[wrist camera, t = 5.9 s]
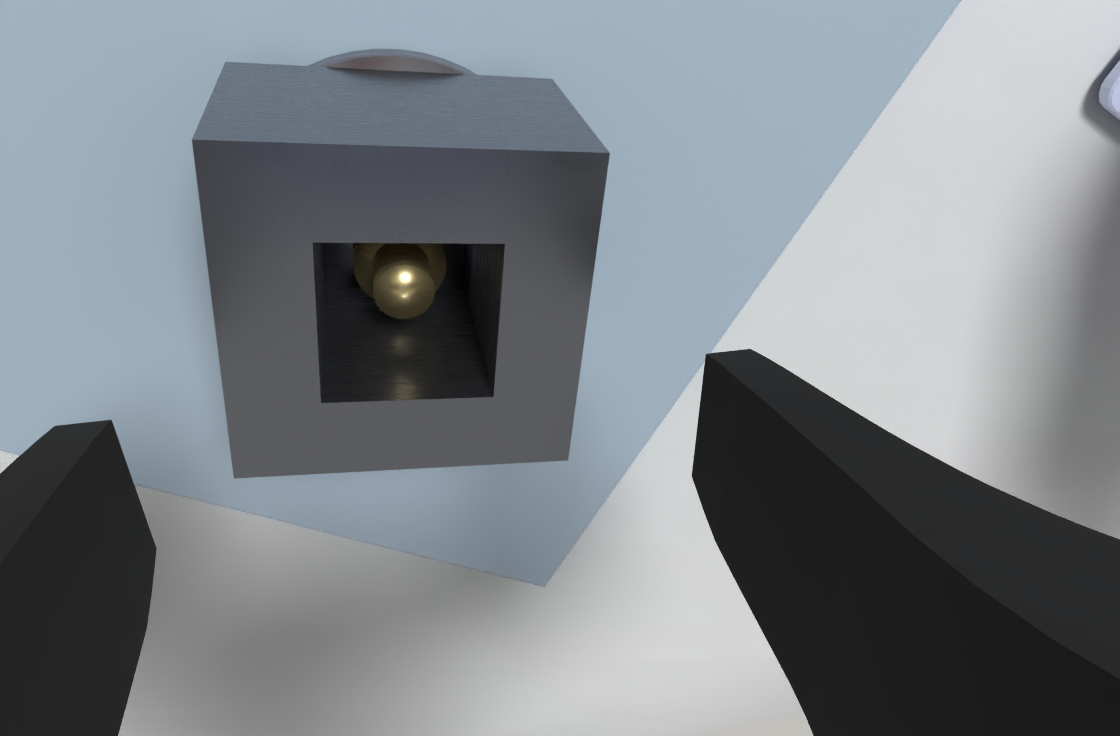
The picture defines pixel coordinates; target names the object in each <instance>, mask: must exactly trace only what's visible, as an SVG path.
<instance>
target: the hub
mask: <svg viewBox="0 0 1120 736" xmlns="http://www.w3.org/2000/svg"><path fill="white" fill-rule="evenodd" d="M308 66H316V67H336V68H355V69H374V70H393V71H413V72H432V73H451V74H470V75H477V74H475V73H474V72H472V71H470V70H469V69H467V68H464V67H462V66H460V65H458V64H456V63H453V62H451V61H449V60H446V59H443V58H440V57H436V56H433V55H429V54H426V53H422V52H415V51H409V50H402V49H368V50H359V51H351V52H347V53H343V54H339V55H335V56H331V57H328V58H325V59H323V60H320V61H318V62H315V63H313V64H310V65H308ZM322 250H323V272H324V285H360V287H361V288H362V289H363V291H364V292H365V293H366V294H367V295H369V296H370V297H371V298H373V299H374V300H375V302H376V304H377V306H378V307H379V309H380V310H381V311H382V312H384V313H385V314H387V315H388V316H391V317H393V318H397V319H410V318H414V317H417V316H419V315H421V314H422V313H424V312H425V311H426V310H427V309H428V308H429V307H430V305H431V304H432V302H433V299H434V294H435V292H436V290H437V289H438V288H439V287H440V285H453V284H464V274H465V254H466V244H458V243H322Z"/></svg>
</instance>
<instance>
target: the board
mask: <svg viewBox="0 0 1120 736" xmlns="http://www.w3.org/2000/svg"><path fill="white" fill-rule="evenodd" d="M960 1H961V0H0V450H1V451H5V452H9V453H13V454H17V455H21V454H22V453H24V452H25V451H26V450H27V449H28V448H29V447H30V446H31V445H32V444H34V443H35V442H36V441H37V440H38V439H39V438H40V437H42V436H43V435H44V434H45V433H47V432H48V431H49V430H50V429H52V428H53V427H54V426H58V425H67V424H76V423H85V422H94V421H103V420H112V422H113V425H114V428H115V431H116V434H117V437H118V439H119V442H120V445H121V448H122V451H123V454H124V457H125V460H126V463H127V465H128V468H129V471H130V474H131V477H132V480H133V483H134V484H136V485H140V486H144V487H148V488H152V489H156V490H160V491H164V492H168V493H172V494H176V495H180V496H184V497H188V498H192V499H196V500H200V501H204V502H208V503H212V504H216V505H220V506H224V507H228V508H232V509H236V510H240V511H244V512H248V513H252V514H256V515H260V516H264V517H268V518H271V519H275V520H279V521H283V522H287V523H291V524H295V525H299V526H303V527H307V528H311V529H315V530H319V531H323V532H327V533H331V534H335V535H339V536H343V537H347V538H351V539H355V540H359V541H363V542H367V543H371V544H375V545H379V546H383V547H387V548H391V549H395V550H399V551H403V552H407V553H411V554H415V555H419V556H423V557H427V558H431V559H435V560H439V561H443V562H447V563H451V564H455V565H459V566H463V567H467V568H471V569H475V570H479V571H483V572H487V573H491V574H495V575H499V576H503V577H507V578H511V579H515V580H518V581H522V582H526V583H530V584H534V585H538V586H542V587H545V585H546V584H547V582H548V581H549V580H550V578H551V577H552V575H553V574H554V572H555V571H556V570H557V568H558V567H559V565H560V564H561V563H562V561H563V560H564V558H565V557H566V556H567V554H568V553H569V551H570V550H571V549H572V547H573V546H574V544H575V543H576V542H577V540H578V539H579V537H580V536H581V535H582V533H583V532H584V530H585V529H586V527H587V526H588V525H589V523H590V522H591V520H592V519H593V518H594V516H595V515H596V513H597V512H598V511H599V509H600V508H601V506H602V505H603V504H604V502H605V501H606V499H607V498H608V497H609V495H610V494H611V492H612V491H613V489H614V488H615V487H616V485H617V484H618V482H619V481H620V480H621V478H622V477H623V475H624V474H625V473H626V471H627V470H628V468H629V467H630V466H631V464H632V463H633V461H634V460H635V459H636V457H637V456H638V454H639V453H640V452H641V450H642V449H643V447H644V446H645V444H646V443H647V442H648V440H649V439H650V437H651V436H652V435H653V433H654V432H655V430H656V429H657V428H658V426H659V425H660V423H661V422H662V421H663V419H664V418H665V416H666V415H667V414H668V412H669V411H670V409H671V408H672V407H673V405H674V404H675V402H676V401H677V399H678V398H679V397H680V395H681V394H682V392H683V391H684V390H685V388H686V387H687V385H688V384H689V383H690V381H691V380H692V378H693V377H694V376H695V374H696V373H697V371H698V370H699V369H700V367H701V366H702V364H703V363H704V362H705V358H706V354H710V353H711V352H712V350H713V349H714V347H715V346H716V345H717V343H718V342H719V340H720V339H721V338H722V336H723V335H724V333H725V332H726V331H727V329H728V328H729V326H730V325H731V324H732V322H733V321H734V319H735V318H736V317H737V315H738V314H739V312H740V311H741V309H742V308H743V307H744V305H745V304H746V302H747V301H748V300H749V298H750V297H751V295H752V294H753V293H754V291H755V290H756V288H757V287H758V286H759V284H760V283H761V281H762V280H763V279H764V277H765V276H766V274H767V273H768V272H769V270H770V269H771V267H772V266H773V264H774V263H775V262H776V260H777V259H778V257H779V256H780V255H781V253H782V252H783V250H784V249H785V248H786V246H787V245H788V243H789V242H790V241H791V239H792V238H793V236H794V235H795V234H796V232H797V231H798V229H799V228H800V227H801V225H802V224H803V222H804V221H805V219H806V218H807V217H808V215H809V214H810V212H811V211H812V210H813V208H814V207H815V205H816V204H817V203H818V201H819V200H820V198H821V197H822V196H823V194H824V193H825V191H826V190H827V189H828V187H829V186H830V184H831V183H832V182H833V180H834V179H835V177H836V176H837V174H838V173H839V172H840V170H841V169H842V167H843V166H844V165H845V163H846V162H847V160H848V159H849V158H850V156H851V155H852V153H853V152H854V151H855V149H856V148H857V146H858V145H859V144H860V142H861V141H862V139H863V138H864V137H865V135H866V134H867V132H868V131H869V129H870V128H871V127H872V125H873V124H874V122H875V121H876V120H877V118H878V117H879V115H880V114H881V113H882V111H883V110H884V108H885V107H886V106H887V104H888V103H889V101H890V100H891V99H892V97H893V96H894V94H895V93H896V92H897V90H898V89H899V87H900V86H901V84H902V83H903V82H904V80H905V79H906V77H907V76H908V75H909V73H910V72H911V70H912V69H913V68H914V66H915V65H916V63H917V62H918V61H919V59H920V58H921V56H922V55H923V54H924V52H925V51H926V49H927V48H928V47H929V45H930V44H931V42H932V41H933V39H934V38H935V37H936V35H937V34H938V32H939V31H940V30H941V28H942V27H943V25H944V24H945V23H946V21H947V20H948V18H949V17H950V16H951V14H952V13H953V11H954V10H955V9H956V7H957V6H958V4H959V3H960ZM368 49H402V50H409V51H415V52H422V53H426V54H429V55H433V56H436V57H440V58H443V59H446V60H449V61H451V62H453V63H456V64H458V65H460V66H462V67H464V68H467V69H469V70H470V71H472V72H474V73H475V74H477V75H490V76H509V77H528V78H547V79H553V80H554V82H555V83H556V84H557V86H558V87H559V88H560V89H561V91H562V92H563V93H564V95H565V96H566V97H567V98H568V100H569V101H570V102H571V104H572V105H573V106H574V107H575V109H576V110H577V111H578V113H579V114H580V115H581V116H582V118H583V119H584V120H585V122H586V123H587V124H588V125H589V127H590V128H591V129H592V131H593V132H594V133H595V134H596V136H597V137H598V138H599V140H600V141H601V142H602V143H603V145H604V146H605V147H606V149H607V150H608V151H609V152H610V156H609V164H608V171H607V178H606V186H605V193H604V200H603V208H602V215H601V223H600V230H599V237H598V245H597V252H596V259H595V267H594V274H593V281H592V289H591V296H590V303H589V311H588V318H587V325H586V333H585V340H584V347H583V355H582V362H581V370H580V377H579V384H578V392H577V399H576V406H575V414H574V421H573V428H572V436H571V443H570V450H569V458H568V461H551V462H533V463H514V464H495V465H477V466H458V467H440V468H421V469H402V470H384V471H365V472H347V473H328V474H309V475H291V476H272V477H254V478H235V479H234V476H233V468H232V460H231V452H230V444H229V436H228V428H227V420H226V412H225V404H224V396H223V388H222V380H221V372H220V364H219V355H218V347H217V339H216V331H215V323H214V315H213V307H212V299H211V291H210V283H209V275H208V267H207V259H206V251H205V243H204V234H203V226H202V218H201V210H200V202H199V194H198V186H197V178H196V170H195V162H194V154H193V146H192V138H193V136H194V133H195V131H196V129H197V126H198V124H199V122H200V119H201V117H202V115H203V112H204V110H205V108H206V105H207V103H208V101H209V98H210V96H211V94H212V92H213V89H214V87H215V85H216V82H217V80H218V78H219V75H220V73H221V71H222V68H223V66H224V64H225V62H239V63H259V64H278V65H297V66H308V65H310V64H313V63H315V62H318V61H320V60H323V59H325V58H328V57H331V56H335V55H339V54H343V53H347V52H351V51H359V50H368Z"/></svg>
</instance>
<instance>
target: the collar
mask: <svg viewBox="0 0 1120 736" xmlns="http://www.w3.org/2000/svg"><path fill="white" fill-rule="evenodd" d="M192 146H193V154H194V162H195V170H196V178H197V186H198V194H199V202H200V210H201V218H202V226H203V234H204V243H205V251H206V259H207V267H208V275H209V283H210V291H211V299H212V307H213V315H214V323H215V331H216V339H217V347H218V355H219V364H220V372H221V380H222V388H223V396H224V404H225V412H226V420H227V428H228V436H229V444H230V452H231V460H232V468H233V476H234V479H235V478H254V477H272V476H291V475H309V474H328V473H347V472H365V471H384V470H402V469H421V468H440V467H458V466H477V465H495V464H514V463H533V462H551V461H568V458H569V450H570V443H571V436H572V428H573V421H574V414H575V406H576V399H577V392H578V384H579V377H580V370H581V362H582V355H583V347H584V340H585V333H586V325H587V318H588V311H589V303H590V296H591V289H592V281H593V274H594V267H595V259H596V252H597V245H598V237H599V230H600V223H601V215H602V208H603V200H604V193H605V186H606V178H607V171H608V164H609V156H610V152H609V151H608V150H607V149H606V147H605V146H604V145H603V143H602V142H601V141H600V140H599V138H598V137H597V136H596V134H595V133H594V132H593V131H592V129H591V128H590V127H589V125H588V124H587V123H586V122H585V120H584V119H583V118H582V116H581V115H580V114H579V113H578V111H577V110H576V109H575V107H574V106H573V105H572V104H571V102H570V101H569V100H568V98H567V97H566V96H565V95H564V93H563V92H562V91H561V89H560V88H559V87H558V86H557V84H556V83H555V82H554V80H553V79H547V78H528V77H509V76H490V75H470V74H451V73H432V72H413V71H393V70H374V69H355V68H336V67H316V66H297V65H278V64H259V63H239V62H225V64H224V66H223V68H222V71H221V73H220V75H219V78H218V80H217V82H216V85H215V87H214V89H213V92H212V94H211V96H210V98H209V101H208V103H207V105H206V108H205V110H204V112H203V115H202V117H201V119H200V122H199V124H198V126H197V129H196V131H195V133H194V136H193V138H192ZM322 243H458V244H466V254H465V274H464V284H453V285H440V287H439V288H438V289H437V290H436V292H435V294H434V299H433V302H432V304H431V305H430V307H429V308H428V309H427V310H426V311H425V312H424V313H422V314H421V315H419V316H417V317H414V318H410V319H397V318H393V317H391V316H388V315H387V314H385V313H384V312H382V311H381V310H380V309H379V307H378V306H377V304H376V302H375V300H374V299H373V298H371V297H370V296H369V295H367V294H366V293H365V292H364V291H363V289H362V288H361V287H360V285H324V272H323V250H322Z"/></svg>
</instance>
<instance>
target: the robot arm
mask: <svg viewBox="0 0 1120 736" xmlns="http://www.w3.org/2000/svg"><path fill="white" fill-rule="evenodd" d="M1099 102H1100V104H1101V105H1102V107H1104V108H1105V109H1106V110H1107V111H1109V112H1110V113H1111V114H1112V115H1114V116H1115V117H1116V118H1118V119H1119V120H1120V61H1119V62H1118V63H1117V64H1116V66H1115V67H1114V68H1113V69H1112V71H1111V72H1110V73H1109V74H1108V75H1107V77H1106V78H1105V80H1104V81H1103V83H1102V85H1101V87H1100V91H1099ZM692 478H693V481H694V484H695V487H696V489H697V492H698V495H699V498H700V501H701V504H702V507H703V510H704V513H705V515H706V518H707V520H708V523H709V526H710V528H711V531H712V534H713V536H714V539H715V541H716V543H717V545H718V547H719V549H720V551H721V553H722V555H723V557H724V559H725V561H726V563H727V565H728V567H729V569H730V571H731V573H732V575H733V577H734V578H735V580H736V582H737V584H738V586H739V588H740V590H741V592H742V594H743V596H744V598H745V599H746V601H747V603H748V605H749V607H750V609H751V611H752V613H753V614H754V616H755V618H756V620H757V622H758V624H759V626H760V628H761V630H762V631H763V633H764V635H765V637H766V639H767V641H768V643H769V645H770V646H771V648H772V650H773V652H774V654H775V656H776V658H777V660H778V662H779V663H780V665H781V667H782V669H783V671H784V673H785V675H786V677H787V678H788V680H789V682H790V684H791V686H792V688H793V691H794V693H795V695H796V697H797V699H798V701H799V703H800V705H801V707H802V709H803V712H804V714H805V716H806V718H807V720H808V723H809V725H810V728H811V730H812V733H813V735H814V736H1120V540H1119V539H1117V538H1114V537H1111V536H1108V535H1106V534H1103V533H1100V532H1098V531H1095V530H1092V529H1090V528H1087V527H1084V526H1082V525H1079V524H1077V523H1074V522H1072V521H1069V520H1067V519H1065V518H1062V517H1060V516H1057V515H1055V514H1052V513H1050V512H1048V511H1045V510H1043V509H1041V508H1038V507H1036V506H1034V505H1032V504H1030V503H1027V502H1025V501H1023V500H1021V499H1018V498H1016V497H1014V496H1012V495H1010V494H1007V493H1005V492H1003V491H1001V490H999V489H996V488H994V487H992V486H990V485H988V484H986V483H983V482H981V481H979V480H977V479H975V478H973V477H971V476H969V475H967V474H965V473H963V472H961V471H959V470H957V469H955V468H954V467H952V466H950V465H948V464H946V463H944V462H942V461H940V460H939V459H937V458H935V457H933V456H931V455H929V454H927V453H925V452H924V451H922V450H920V449H918V448H916V447H914V446H912V445H911V444H909V443H907V442H905V441H904V440H902V439H900V438H898V437H897V436H895V435H893V434H891V433H890V432H888V431H886V430H884V429H883V428H881V427H879V426H878V425H876V424H874V423H873V422H871V421H869V420H868V419H866V418H864V417H863V416H861V415H859V414H858V413H856V412H854V411H853V410H851V409H849V408H848V407H846V406H844V405H843V404H841V403H840V402H838V401H836V400H835V399H833V398H831V397H830V396H828V395H827V394H825V393H823V392H822V391H820V390H819V389H817V388H815V387H814V386H812V385H811V384H809V383H807V382H806V381H804V380H803V379H801V378H799V377H798V376H796V375H795V374H793V373H791V372H790V371H788V370H786V369H785V368H783V367H782V366H780V365H778V364H777V363H775V362H773V361H771V360H770V359H768V358H766V357H764V356H763V355H761V354H759V353H757V352H755V351H753V350H751V349H746V350H737V351H728V352H719V353H710V354H706V358H705V366H704V375H703V384H702V392H701V401H700V410H699V418H698V427H697V436H696V444H695V453H694V462H693V470H692ZM155 557H156V546H155V543H154V540H153V538H152V535H151V532H150V529H149V526H148V523H147V520H146V517H145V514H144V512H143V509H142V506H141V503H140V500H139V497H138V494H137V491H136V488H135V486H134V483H133V480H132V477H131V474H130V471H129V468H128V465H127V463H126V460H125V457H124V454H123V451H122V448H121V445H120V442H119V439H118V437H117V434H116V431H115V428H114V425H113V422H112V420H103V421H94V422H85V423H76V424H67V425H58V426H54V427H53V428H52V429H50V430H49V431H48V432H47V433H45V434H44V435H43V436H42V437H40V438H39V439H38V440H37V441H36V442H35V443H34V444H32V445H31V446H30V447H29V448H28V449H27V450H26V451H25V452H24V453H22V454H21V455H20V456H19V457H18V458H17V459H16V460H15V461H14V462H13V463H11V464H10V465H9V466H8V467H7V468H6V469H5V470H4V471H3V472H2V473H1V474H0V736H118V733H119V730H120V726H121V722H122V719H123V715H124V711H125V708H126V704H127V701H128V697H129V693H130V690H131V686H132V682H133V678H134V674H135V671H136V667H137V663H138V659H139V656H140V652H141V648H142V644H143V640H144V636H145V632H146V628H147V622H148V615H149V608H150V601H151V593H152V585H153V575H154V566H155Z"/></svg>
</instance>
